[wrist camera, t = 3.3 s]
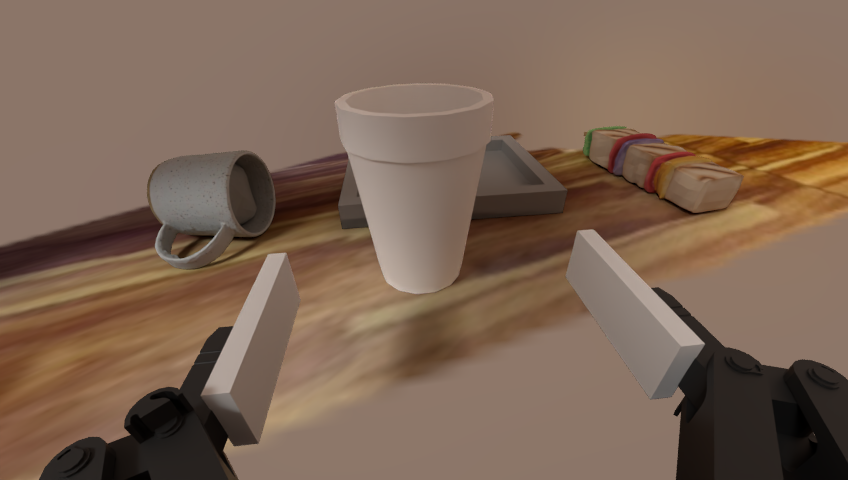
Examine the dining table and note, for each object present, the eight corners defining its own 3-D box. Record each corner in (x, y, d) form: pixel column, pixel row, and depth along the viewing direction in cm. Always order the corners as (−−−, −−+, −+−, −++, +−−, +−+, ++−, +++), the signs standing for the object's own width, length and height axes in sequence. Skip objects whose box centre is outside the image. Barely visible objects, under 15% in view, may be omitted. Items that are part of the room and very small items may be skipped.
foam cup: (339, 269, 28) (304, 100, 21) (419, 225, 33) (414, 79, 26) (423, 330, 22) (415, 127, 15) (503, 265, 28) (525, 93, 21)
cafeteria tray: (342, 228, 33) (338, 205, 32) (354, 161, 48) (352, 144, 47) (562, 212, 35) (567, 190, 33) (508, 152, 50) (510, 135, 48)
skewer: (736, 213, 34) (762, 165, 31) (680, 222, 33) (702, 173, 30) (602, 148, 51) (611, 113, 48) (562, 152, 50) (570, 116, 47)
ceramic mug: (209, 210, 37) (179, 140, 33) (283, 210, 37) (262, 139, 32) (137, 274, 28) (82, 190, 24) (233, 275, 28) (194, 190, 24)
